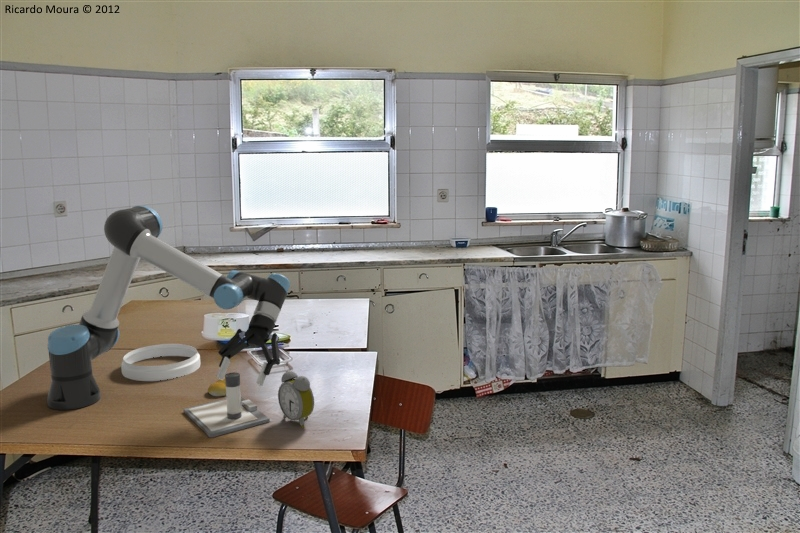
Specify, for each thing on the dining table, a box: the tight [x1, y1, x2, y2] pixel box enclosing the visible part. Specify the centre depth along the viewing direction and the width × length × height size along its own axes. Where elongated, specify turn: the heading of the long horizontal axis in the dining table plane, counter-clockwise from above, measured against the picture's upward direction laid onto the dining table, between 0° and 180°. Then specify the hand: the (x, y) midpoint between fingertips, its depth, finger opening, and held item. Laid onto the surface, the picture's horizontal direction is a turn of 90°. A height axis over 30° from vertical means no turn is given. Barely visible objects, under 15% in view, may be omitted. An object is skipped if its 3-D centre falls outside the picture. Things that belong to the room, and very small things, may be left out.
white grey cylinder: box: [224, 371, 242, 420], centre depth 193 cm, size 4×4×13 cm
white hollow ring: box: [120, 343, 201, 382], centre depth 239 cm, size 27×27×6 cm
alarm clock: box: [277, 370, 315, 429], centre depth 192 cm, size 12×7×15 cm, turn 44°
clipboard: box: [183, 396, 271, 438], centre depth 197 cm, size 22×18×2 cm
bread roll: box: [207, 378, 226, 397], centre depth 216 cm, size 8×9×4 cm
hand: (239, 381), depth 194 cm, fingers open, 13 cm apart
